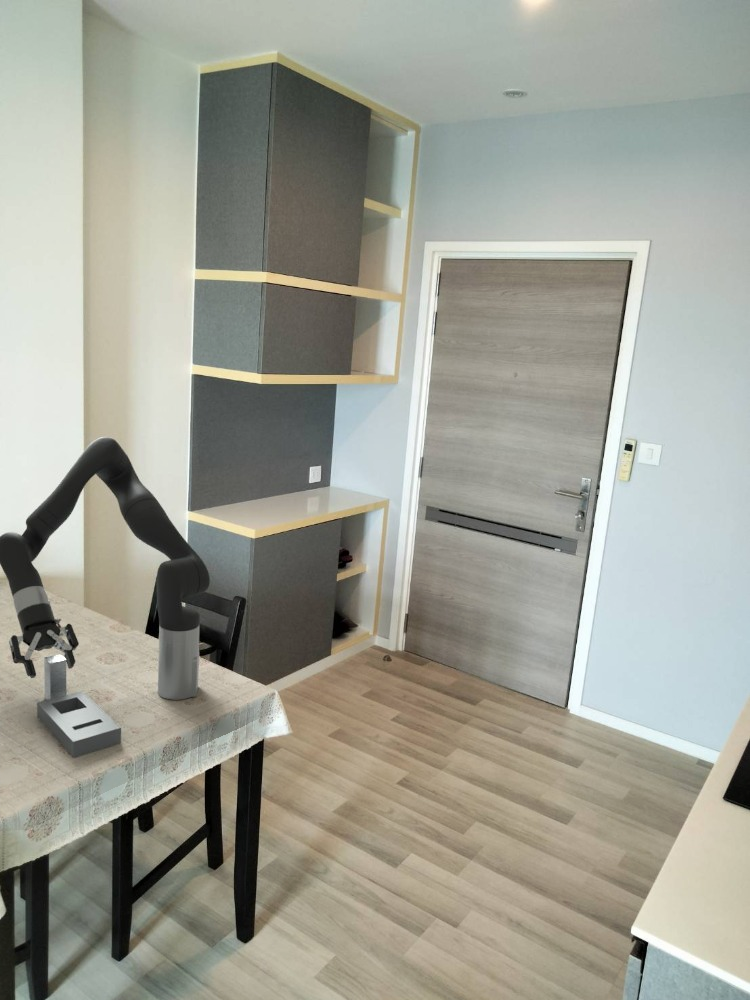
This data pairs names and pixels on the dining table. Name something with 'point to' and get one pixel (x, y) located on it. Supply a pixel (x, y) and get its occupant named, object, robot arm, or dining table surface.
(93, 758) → the dining table surface
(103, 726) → the holder
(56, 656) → the grey square peg
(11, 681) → the dining table surface
